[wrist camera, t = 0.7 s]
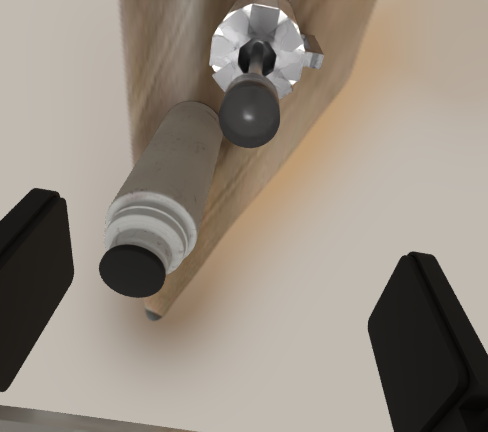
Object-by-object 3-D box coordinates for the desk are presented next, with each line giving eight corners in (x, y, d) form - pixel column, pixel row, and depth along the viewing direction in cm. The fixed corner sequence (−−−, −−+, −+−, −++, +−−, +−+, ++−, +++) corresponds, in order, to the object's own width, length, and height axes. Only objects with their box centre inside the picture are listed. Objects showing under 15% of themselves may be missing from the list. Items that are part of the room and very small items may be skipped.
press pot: (233, -19, 42) (216, -3, 29) (319, -2, 42) (340, 22, 29) (224, 54, 46) (205, 97, 33) (302, 68, 46) (314, 117, 33)
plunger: (237, 13, 33) (210, 66, 19) (289, 23, 34) (303, 83, 19) (229, 68, 36) (201, 151, 21) (278, 77, 36) (282, 166, 22)
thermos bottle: (233, 145, 53) (203, 299, 30) (182, 165, 55) (118, 323, 32) (205, 90, 49) (147, 220, 26) (152, 115, 51) (54, 254, 28)
